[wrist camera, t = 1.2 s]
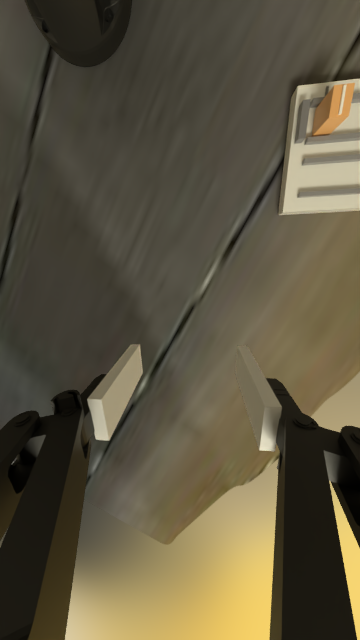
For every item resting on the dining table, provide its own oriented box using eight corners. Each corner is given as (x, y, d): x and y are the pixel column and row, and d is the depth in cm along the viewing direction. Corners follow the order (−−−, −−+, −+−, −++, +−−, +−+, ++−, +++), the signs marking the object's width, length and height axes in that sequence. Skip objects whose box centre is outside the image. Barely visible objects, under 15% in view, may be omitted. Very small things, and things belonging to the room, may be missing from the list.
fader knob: (315, 109, 27) (335, 83, 23) (333, 107, 27) (356, 81, 23) (311, 136, 28) (329, 116, 24) (328, 135, 28) (350, 114, 24)
